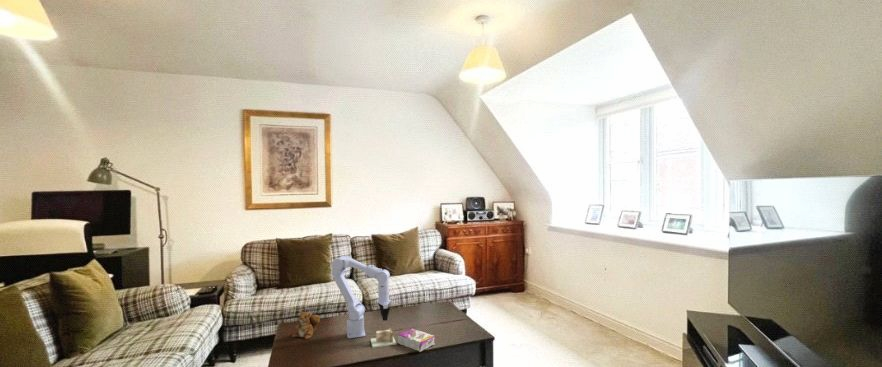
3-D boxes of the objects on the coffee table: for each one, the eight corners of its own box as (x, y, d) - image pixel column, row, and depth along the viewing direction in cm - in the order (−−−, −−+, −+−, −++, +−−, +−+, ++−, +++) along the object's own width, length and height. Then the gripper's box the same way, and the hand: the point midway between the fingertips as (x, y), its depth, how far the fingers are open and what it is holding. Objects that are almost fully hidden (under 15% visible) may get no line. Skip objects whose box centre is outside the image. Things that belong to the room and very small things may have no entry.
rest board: (372, 347, 191) (372, 346, 191) (370, 340, 201) (370, 338, 201) (396, 344, 195) (396, 342, 195) (393, 337, 204) (392, 335, 204)
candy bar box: (412, 327, 204) (435, 335, 194) (412, 336, 204) (435, 345, 194) (396, 334, 196) (420, 342, 185) (397, 343, 196) (420, 352, 185)
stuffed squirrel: (290, 338, 207) (290, 313, 206) (310, 328, 219) (309, 306, 219) (304, 340, 202) (304, 316, 202) (323, 331, 215) (322, 308, 215)
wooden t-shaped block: (377, 344, 194) (377, 334, 194) (375, 339, 200) (375, 329, 200) (393, 342, 196) (392, 332, 196) (390, 337, 203) (390, 327, 203)
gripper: (392, 295, 201) (393, 321, 201) (389, 288, 214) (389, 312, 214) (379, 297, 199) (380, 323, 199) (376, 289, 213) (377, 314, 213)
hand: (384, 317), depth 206 cm, fingers open, 7 cm apart
